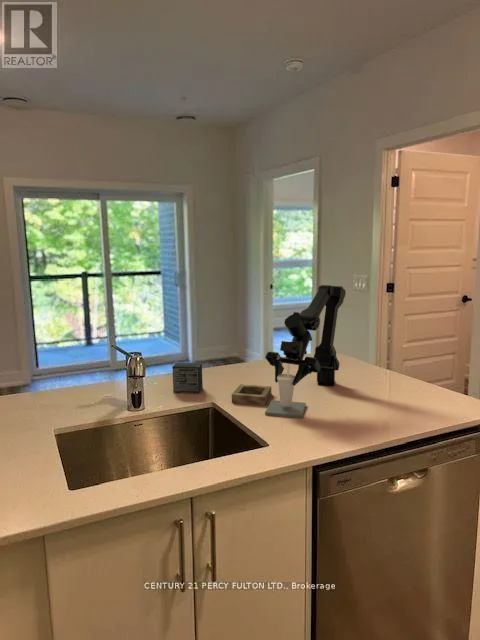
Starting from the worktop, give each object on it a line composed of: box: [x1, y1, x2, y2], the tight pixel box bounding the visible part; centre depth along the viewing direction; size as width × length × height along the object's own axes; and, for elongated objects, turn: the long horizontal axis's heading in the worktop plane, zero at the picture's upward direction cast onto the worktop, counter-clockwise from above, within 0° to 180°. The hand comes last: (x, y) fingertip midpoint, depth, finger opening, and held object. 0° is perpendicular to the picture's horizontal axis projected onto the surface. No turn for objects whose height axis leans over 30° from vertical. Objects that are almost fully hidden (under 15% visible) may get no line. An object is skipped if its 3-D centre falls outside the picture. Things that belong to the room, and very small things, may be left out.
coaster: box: [264, 399, 307, 419], centre depth 156 cm, size 12×12×1 cm
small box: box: [171, 362, 204, 394], centre depth 177 cm, size 11×6×10 cm, turn 84°
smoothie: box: [277, 363, 296, 406], centre depth 155 cm, size 6×6×14 cm
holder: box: [231, 384, 272, 406], centre depth 168 cm, size 12×12×3 cm
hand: (284, 383), depth 154 cm, fingers closed on smoothie, 6 cm apart
